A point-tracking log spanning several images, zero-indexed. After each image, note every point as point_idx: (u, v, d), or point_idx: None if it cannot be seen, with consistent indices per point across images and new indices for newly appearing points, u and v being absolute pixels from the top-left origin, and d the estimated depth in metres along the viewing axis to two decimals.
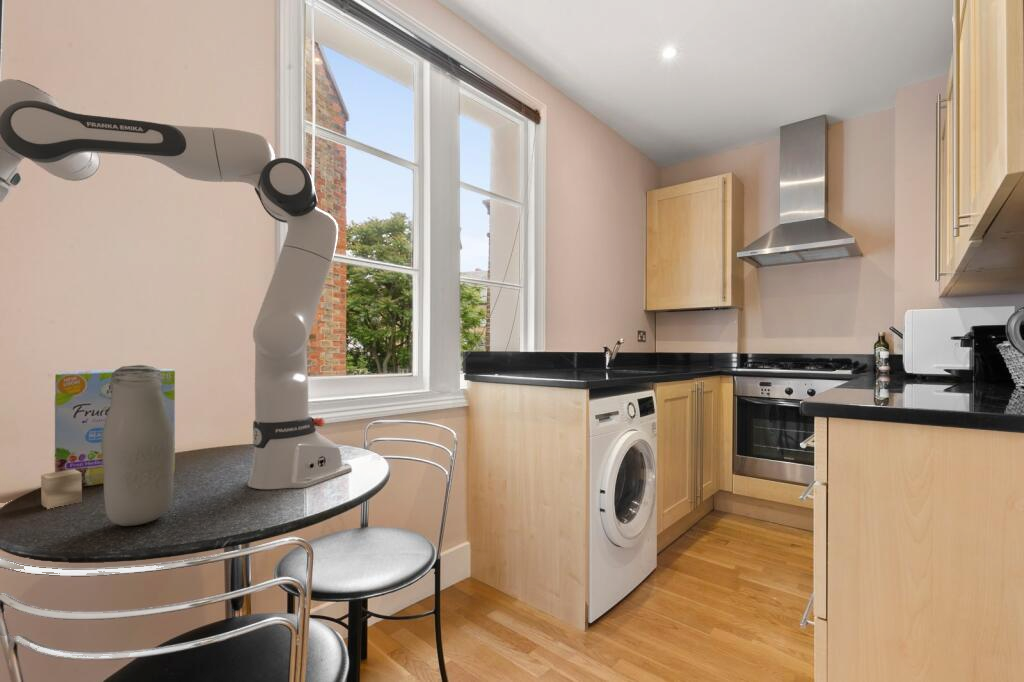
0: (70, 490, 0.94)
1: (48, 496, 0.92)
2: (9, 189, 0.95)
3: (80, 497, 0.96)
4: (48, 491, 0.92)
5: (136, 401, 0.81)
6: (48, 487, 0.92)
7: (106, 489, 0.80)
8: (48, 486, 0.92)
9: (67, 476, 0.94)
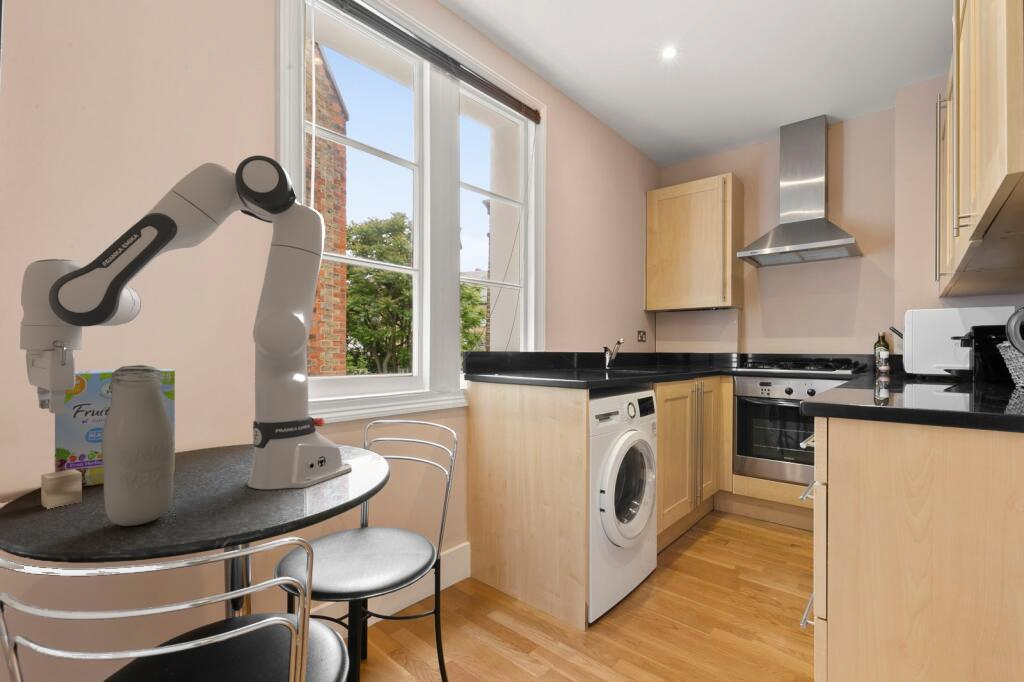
0: (70, 490, 0.94)
1: (48, 496, 0.92)
2: None
3: (80, 497, 0.96)
4: (48, 491, 0.92)
5: (136, 401, 0.81)
6: (48, 487, 0.92)
7: (106, 489, 0.80)
8: (48, 486, 0.92)
9: (67, 476, 0.94)
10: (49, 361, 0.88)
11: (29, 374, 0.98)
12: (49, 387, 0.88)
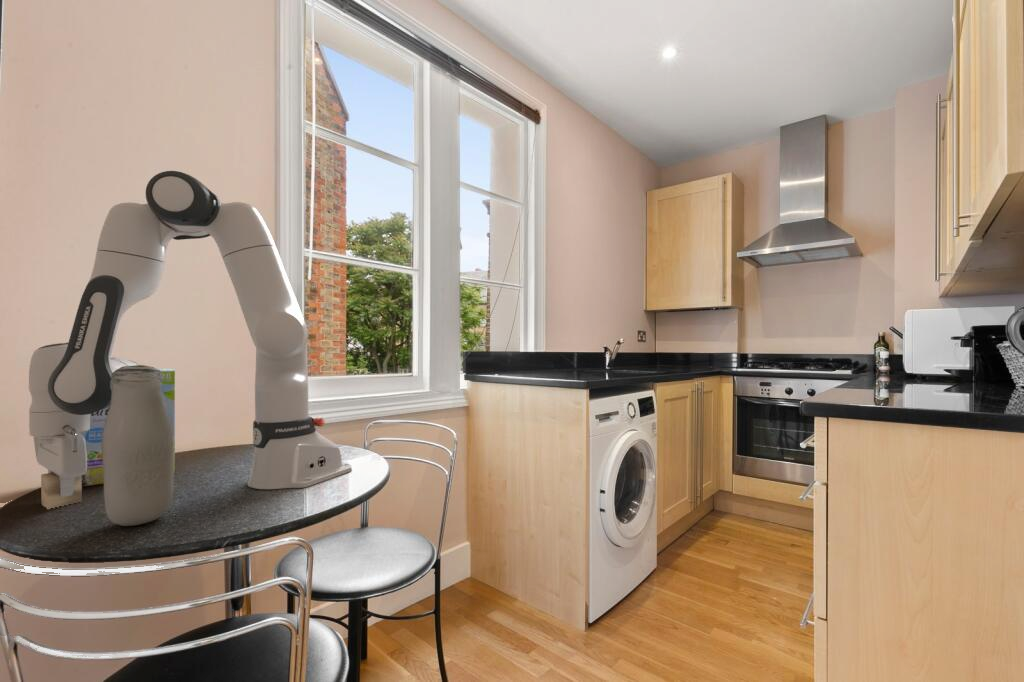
0: None
1: (48, 496, 0.92)
2: None
3: (80, 497, 0.96)
4: (48, 491, 0.92)
5: (136, 401, 0.81)
6: (48, 487, 0.92)
7: (106, 489, 0.80)
8: (48, 486, 0.92)
9: None
10: (61, 449, 0.89)
11: (37, 454, 0.99)
12: (62, 475, 0.88)
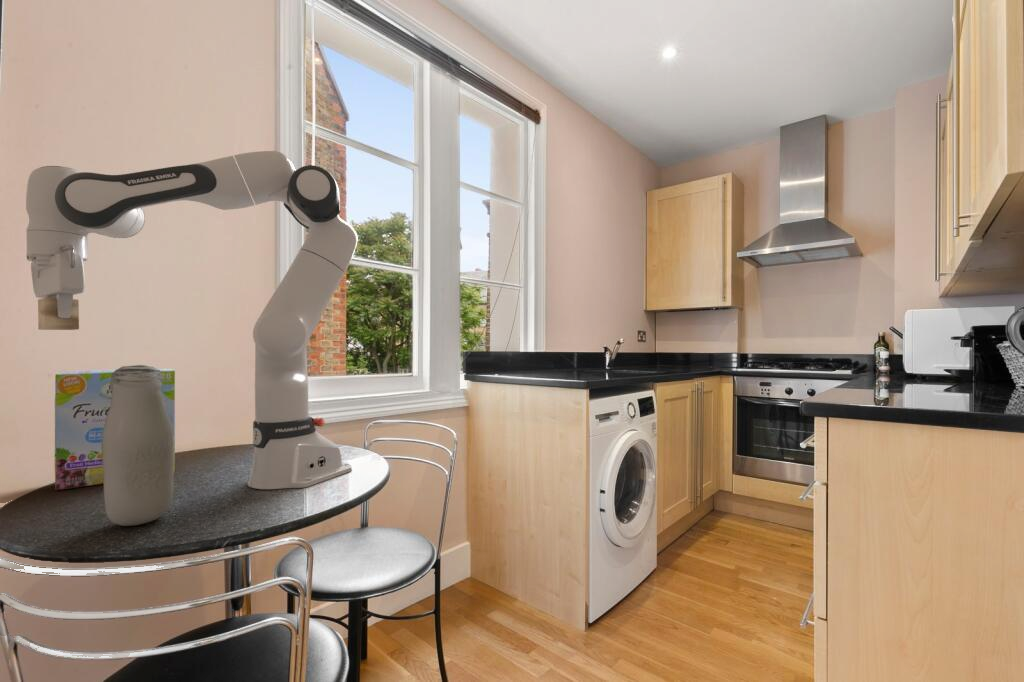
0: None
1: (45, 315, 0.92)
2: None
3: (77, 324, 0.95)
4: (45, 310, 0.92)
5: (136, 401, 0.81)
6: (45, 306, 0.92)
7: (106, 489, 0.80)
8: (45, 305, 0.92)
9: None
10: (58, 262, 0.88)
11: (35, 286, 0.98)
12: (59, 288, 0.88)
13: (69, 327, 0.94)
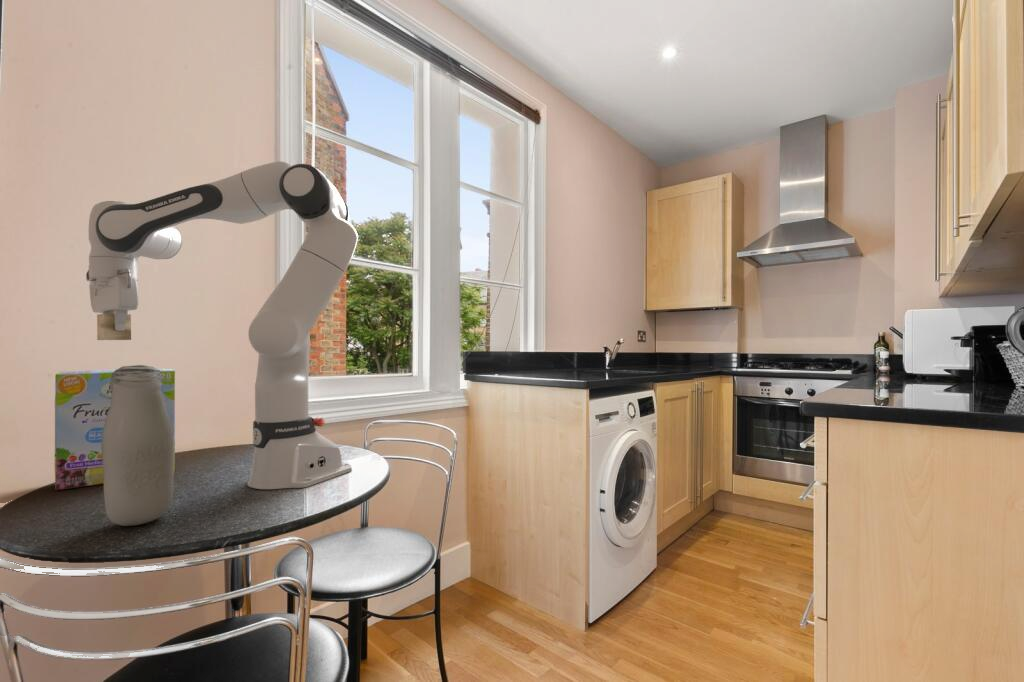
0: None
1: (104, 328, 1.08)
2: None
3: (130, 335, 1.12)
4: (104, 324, 1.08)
5: (136, 401, 0.81)
6: (104, 321, 1.08)
7: (106, 489, 0.80)
8: (104, 320, 1.08)
9: None
10: (117, 284, 1.05)
11: (92, 303, 1.15)
12: (118, 306, 1.05)
13: (123, 338, 1.11)
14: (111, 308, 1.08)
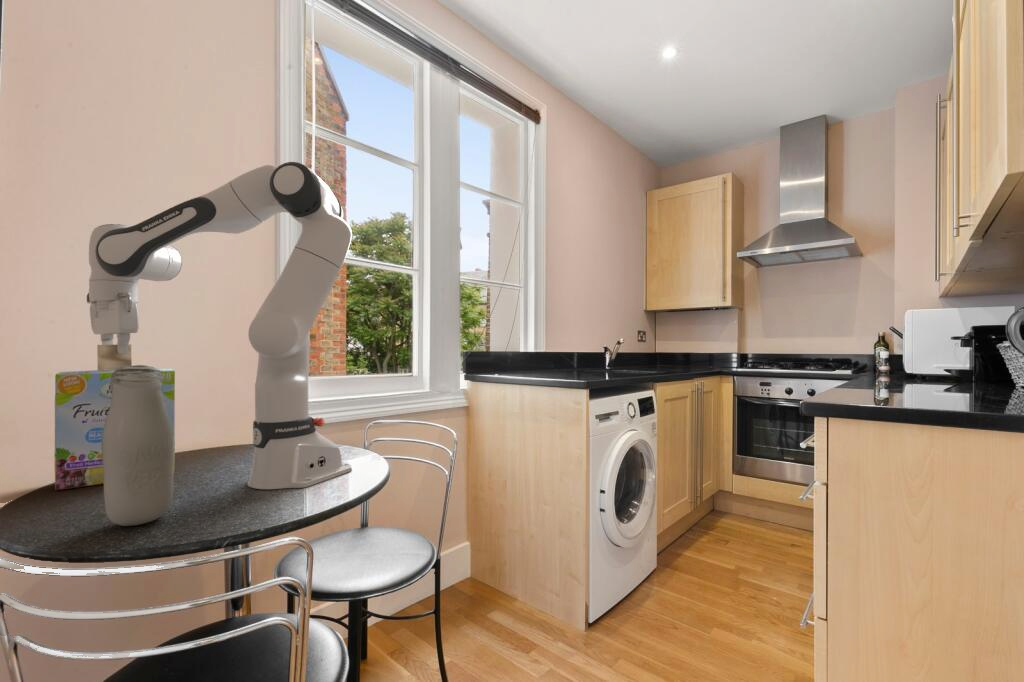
0: (122, 358, 1.11)
1: (105, 359, 1.08)
2: None
3: (130, 365, 1.12)
4: (105, 355, 1.08)
5: (136, 401, 0.81)
6: (105, 352, 1.08)
7: (106, 489, 0.80)
8: (105, 351, 1.08)
9: None
10: (118, 308, 1.05)
11: (93, 325, 1.15)
12: (119, 329, 1.05)
13: None
14: (111, 331, 1.08)
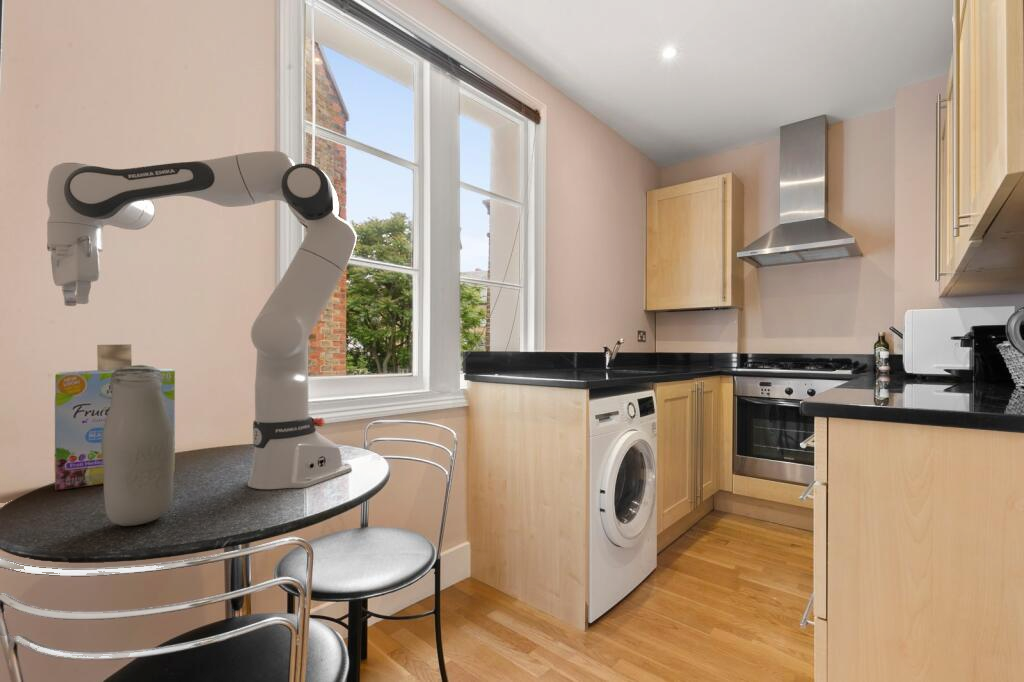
0: (122, 358, 1.11)
1: (105, 359, 1.08)
2: None
3: (130, 365, 1.12)
4: (105, 355, 1.08)
5: (136, 401, 0.81)
6: (105, 352, 1.08)
7: (106, 489, 0.80)
8: (105, 351, 1.08)
9: (120, 345, 1.11)
10: (76, 252, 0.96)
11: (54, 275, 1.06)
12: (76, 275, 0.95)
13: None
14: (70, 279, 0.98)
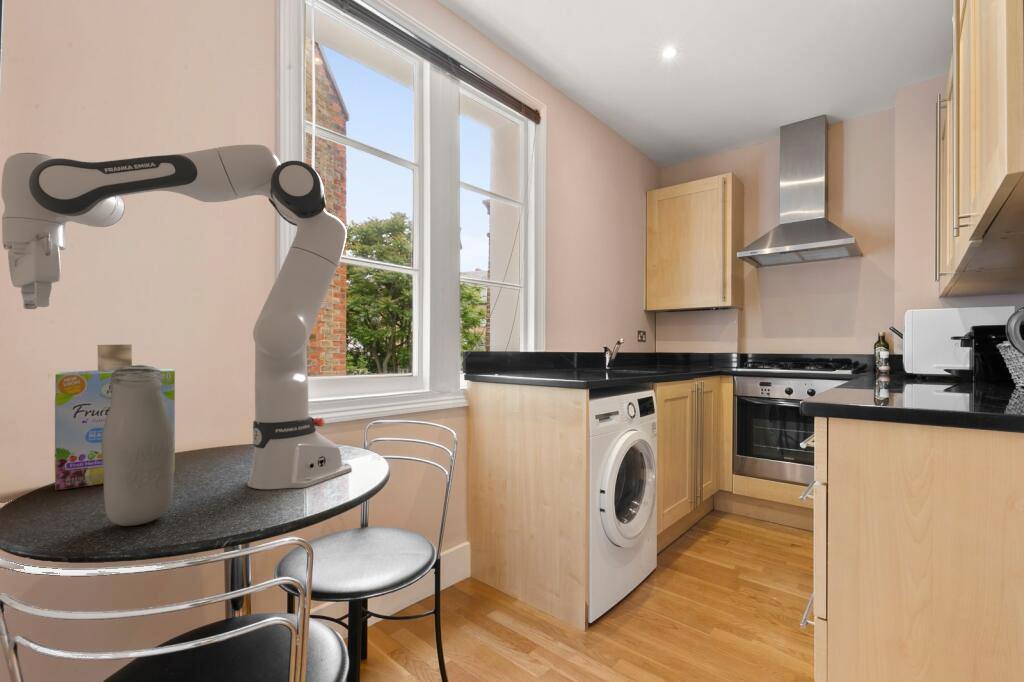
0: (122, 358, 1.11)
1: (105, 359, 1.08)
2: None
3: (130, 365, 1.12)
4: (105, 355, 1.08)
5: (136, 401, 0.81)
6: (105, 352, 1.08)
7: (106, 489, 0.80)
8: (105, 351, 1.08)
9: (120, 345, 1.11)
10: (33, 250, 0.87)
11: (12, 276, 0.97)
12: (34, 276, 0.87)
13: None
14: (28, 280, 0.90)
